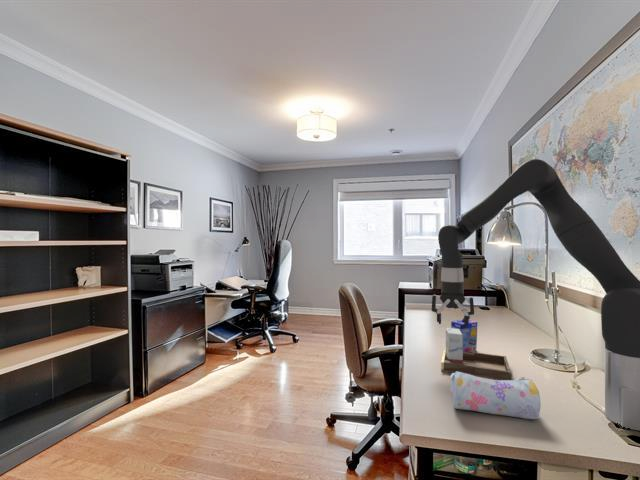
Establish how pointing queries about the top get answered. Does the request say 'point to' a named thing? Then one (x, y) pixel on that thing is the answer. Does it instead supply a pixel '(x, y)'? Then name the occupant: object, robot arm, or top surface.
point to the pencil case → (495, 395)
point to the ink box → (454, 345)
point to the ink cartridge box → (467, 334)
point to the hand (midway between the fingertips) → (452, 324)
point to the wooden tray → (479, 365)
